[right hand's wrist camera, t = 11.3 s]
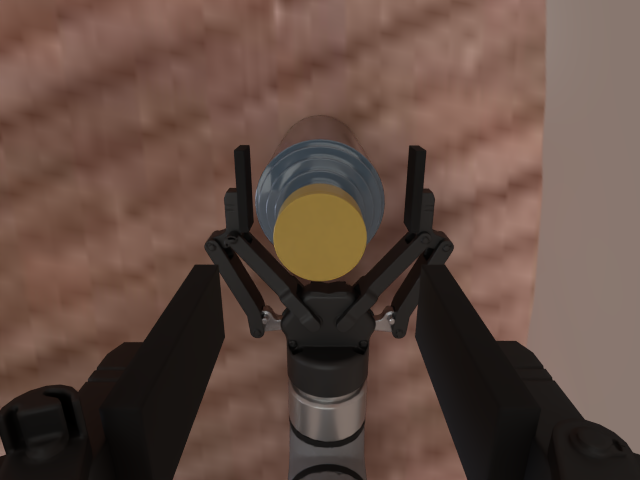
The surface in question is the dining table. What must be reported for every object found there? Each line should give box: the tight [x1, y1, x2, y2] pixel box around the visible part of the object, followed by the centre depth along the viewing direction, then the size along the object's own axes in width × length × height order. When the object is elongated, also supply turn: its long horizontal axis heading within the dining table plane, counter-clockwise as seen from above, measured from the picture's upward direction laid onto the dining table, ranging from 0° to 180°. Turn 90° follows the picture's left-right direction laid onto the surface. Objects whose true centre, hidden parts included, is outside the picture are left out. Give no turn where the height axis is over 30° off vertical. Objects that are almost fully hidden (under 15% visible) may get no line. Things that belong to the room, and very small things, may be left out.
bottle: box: [255, 115, 385, 245], centre depth 31 cm, size 8×8×22 cm
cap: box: [273, 183, 367, 281], centre depth 21 cm, size 4×4×2 cm
